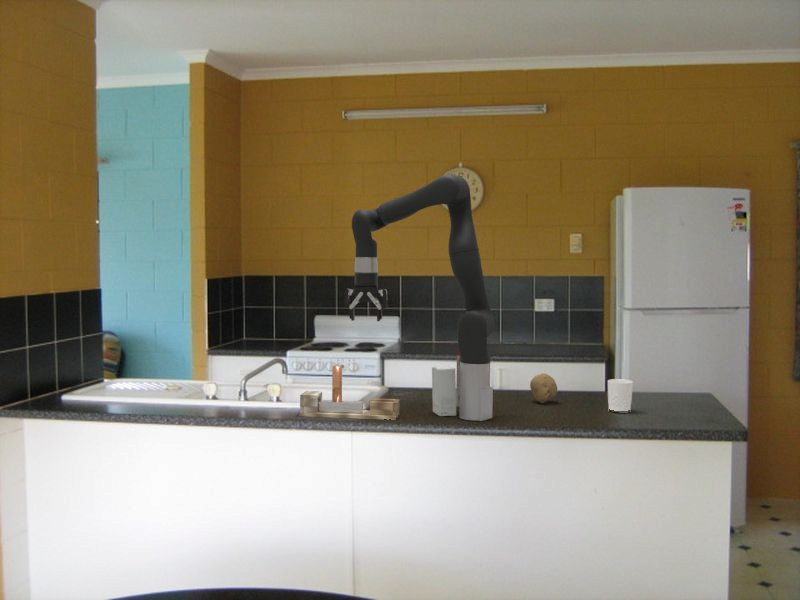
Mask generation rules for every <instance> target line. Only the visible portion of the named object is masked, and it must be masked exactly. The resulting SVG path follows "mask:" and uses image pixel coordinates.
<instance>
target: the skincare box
mask: <svg viewBox="0 0 800 600" xmlns="http://www.w3.org/2000/svg"><path fill="white" fill-rule="evenodd" d="M431 388H432V389H431V391H432V397H431V398H432V413H434V414H435V415H438V416H439V417H445V416H446V417H448V416H449V417H456V416H457V406H456V368H455V367H452V366H449V365H438V366H431Z"/></svg>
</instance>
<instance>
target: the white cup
mask: <svg viewBox="0 0 800 600" xmlns="http://www.w3.org/2000/svg"><path fill="white" fill-rule="evenodd" d="M633 385H634V381H632V380H630V379H624V378H623V379H620V378H618V379H616V378H612V379H608V380H607V403H608V410H609V409H610V410H614V411H628V410H630V411H631V408H632V407H631V405H632V399H633V389H634V387H633Z"/></svg>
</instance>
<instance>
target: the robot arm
mask: <svg viewBox="0 0 800 600" xmlns="http://www.w3.org/2000/svg"><path fill="white" fill-rule="evenodd" d="M470 188H471V187H470V186H469V183H468V181H467V180H466V179H465V178H464V177H462V176H460V175H455V174H450V173H449V174H442V175H441V176H439V177H438V178H436V179H435V180H432V181H431V182H429V183H428V184H426V185H424V186H422V187H420V188H419V189H416V190H414V191H412V192H408V193H406V194H404V195H401V196H398V197H395V198H393V199H390V200H387V201H384V202H383V203H381V204H379V205H378V207H376V208H374V209H362V208H361V209H358V210H356V211H355V212H354V213H353V215H352V219H351V230H352V235H353V240H354V243H355V258H354V259H355V260H354V287H353V289H351V288H345V289H344V295H343V296H344V299H343V307H344V308H347V309H348V310H349V311H348V312H349V317H348V318H349V320H350V321H353V322H354V321H355V317H356V315H355V314H356V313H355V307H356V306H357V304H358V303H365V302H366V303H373V304H374V305H375V307H376V308H377V310H376V321H377V322H380V321H381V320H382V319H383V310H384V309H386V308H388V307H389V298H388V290H387V289H386V288H384V289H379V287H378V285H379V284H378V281H379V279H378V277H379V275H378V274H379V273H378V272H379V265H378V263H379V262H378V243H377V240H375V239H373V237H372V232H375V231H378V230H381V229H383V228H385V227H387V226H389V225H390V224H393V223H397V222H399V221H401V220H405V219H407V218H409V217H411V216H413V215H415V214H416V213H417V212H420V211H421V210H424V209H426V208H429V207H430V208H431V207H432V206H441V205H446V206H447V210H448V214H449V219H450V230H449V231H450V232H449V238H448V255H449V256H448V257H449V262H450V267H451V271H452V274H453V276H454V278H455V280H456V283H457V284H458V287H459V289H460V290H461V293H462V295H463V297H462V298H463V300H464V306H465V312H464V313H463V314H462V315H461V316H460V317H459V319H458V324H457V350H458V351H459V355H460V407H459V411H458V412H459V418H460V419H462V420H465V421H473V422H474V421H477V422H478V421H479V422H482V421H487V420H491V419H493V396H494V395H493V394H494V393H493V391H494V390H493V386H492V387H491V353H490V352H489V351H488V350H489V349H488V337H490V336H491V335H492V332H493V330H494V326H495V322H494V321H495V320H494V317H493V313H492V310H491V307H490V303H489V300H488V299H489V298H488V296H487V292H486V286H485V280H484V273H483V269H482V268H483V267H482V260H481V255H480V250H479V246H478V245H479V244H478V240H477V235H476V229H475V224H474V221H473V213H472V212H473V211H472V200H471V198H472V197H471V189H470ZM352 294H353V295H354V296H355V298H354V300H353V301H352V303H351V304H350V296H352ZM379 294H380V296H381V297H382V304H381V302H380V301H379V299H378V298H377V297H378V295H379Z"/></svg>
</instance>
